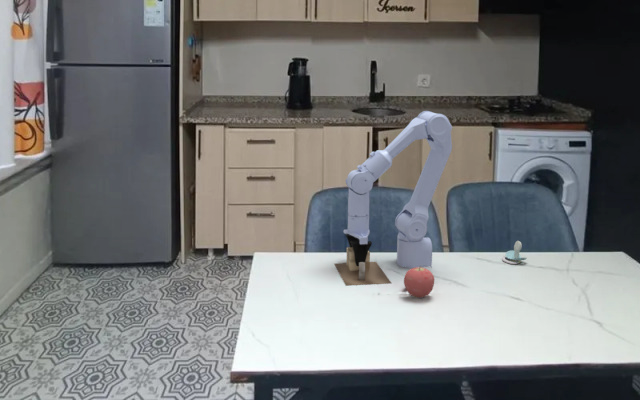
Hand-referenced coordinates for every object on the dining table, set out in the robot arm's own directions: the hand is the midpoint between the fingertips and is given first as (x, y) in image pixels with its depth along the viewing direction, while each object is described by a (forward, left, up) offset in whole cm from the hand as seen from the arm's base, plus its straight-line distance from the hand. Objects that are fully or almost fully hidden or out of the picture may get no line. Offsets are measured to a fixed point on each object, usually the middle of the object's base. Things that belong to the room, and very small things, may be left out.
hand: (358, 262), depth 186 cm
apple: (-11, +20, -3) cm, 23 cm away
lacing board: (0, +5, -3) cm, 6 cm away
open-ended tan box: (0, 0, -1) cm, 1 cm away
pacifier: (-47, -3, -3) cm, 47 cm away
